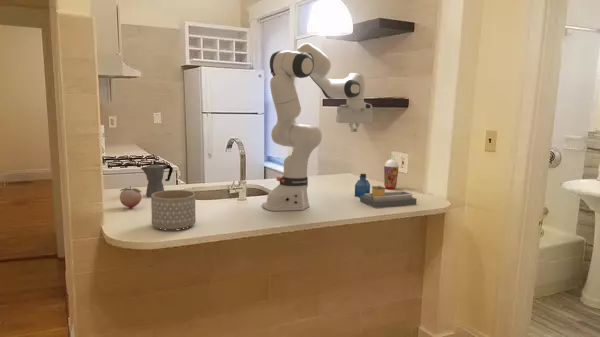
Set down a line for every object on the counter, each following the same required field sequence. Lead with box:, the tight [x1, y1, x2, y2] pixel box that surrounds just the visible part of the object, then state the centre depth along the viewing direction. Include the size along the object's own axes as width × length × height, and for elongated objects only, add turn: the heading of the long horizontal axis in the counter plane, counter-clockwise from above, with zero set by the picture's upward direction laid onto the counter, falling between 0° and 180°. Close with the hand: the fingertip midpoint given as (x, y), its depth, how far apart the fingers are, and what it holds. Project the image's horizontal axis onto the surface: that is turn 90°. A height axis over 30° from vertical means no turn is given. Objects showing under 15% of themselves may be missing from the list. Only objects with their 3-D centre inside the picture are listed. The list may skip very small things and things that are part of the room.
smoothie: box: [383, 154, 400, 190], centre depth 258 cm, size 8×8×20 cm
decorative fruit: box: [119, 185, 142, 209], centre depth 198 cm, size 9×8×10 cm
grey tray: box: [359, 190, 417, 209], centre depth 222 cm, size 24×14×5 cm, turn 114°
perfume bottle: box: [354, 173, 371, 198], centre depth 236 cm, size 6×6×12 cm
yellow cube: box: [371, 185, 386, 197], centre depth 219 cm, size 4×5×5 cm
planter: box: [150, 189, 197, 231], centre depth 173 cm, size 16×16×13 cm
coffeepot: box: [140, 160, 174, 198], centre depth 224 cm, size 15×9×18 cm, turn 116°
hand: (353, 131), depth 232 cm, fingers closed
